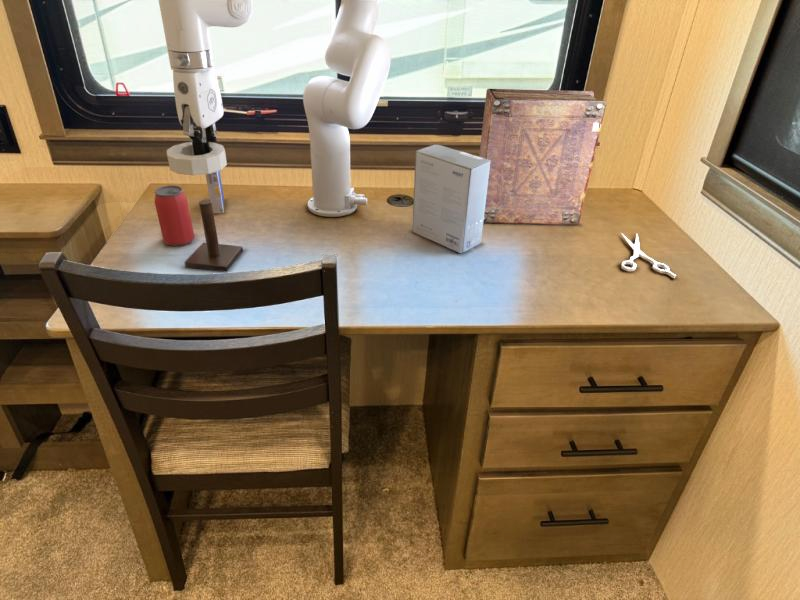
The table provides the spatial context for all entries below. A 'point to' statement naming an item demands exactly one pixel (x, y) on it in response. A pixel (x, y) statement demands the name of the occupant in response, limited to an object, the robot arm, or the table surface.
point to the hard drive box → (450, 196)
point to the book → (539, 154)
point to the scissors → (641, 254)
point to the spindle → (212, 245)
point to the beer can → (174, 215)
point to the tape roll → (196, 159)
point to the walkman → (215, 191)
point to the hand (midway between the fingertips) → (207, 157)
